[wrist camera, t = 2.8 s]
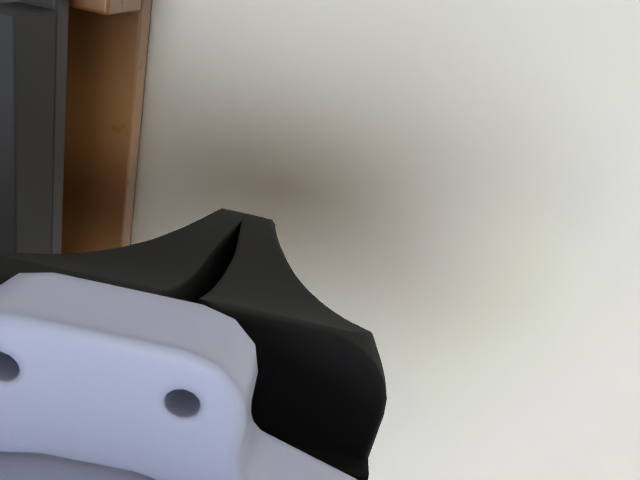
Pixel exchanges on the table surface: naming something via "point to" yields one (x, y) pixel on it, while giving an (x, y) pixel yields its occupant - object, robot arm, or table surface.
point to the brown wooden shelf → (102, 121)
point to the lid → (32, 124)
